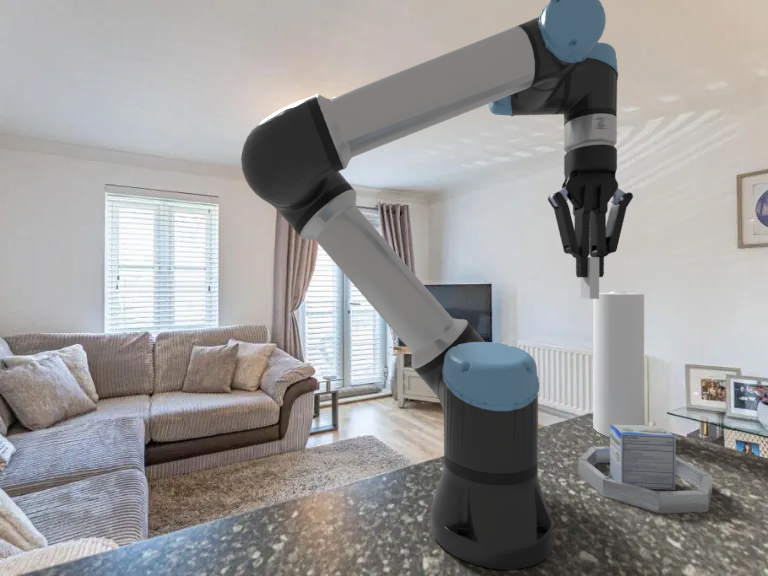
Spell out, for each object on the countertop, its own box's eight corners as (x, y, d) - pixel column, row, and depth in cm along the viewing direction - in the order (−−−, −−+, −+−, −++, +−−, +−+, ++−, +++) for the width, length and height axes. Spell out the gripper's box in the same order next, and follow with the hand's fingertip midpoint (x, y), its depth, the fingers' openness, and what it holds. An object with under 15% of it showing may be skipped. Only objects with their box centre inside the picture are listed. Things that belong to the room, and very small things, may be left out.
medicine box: (660, 478, 67) (661, 425, 67) (676, 491, 63) (676, 435, 63) (609, 475, 68) (609, 423, 68) (621, 488, 64) (621, 433, 64)
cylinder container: (604, 421, 95) (604, 290, 94) (650, 432, 88) (651, 291, 87) (585, 430, 89) (585, 291, 88) (633, 443, 82) (633, 292, 81)
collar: (623, 514, 57) (624, 496, 57) (563, 461, 74) (563, 447, 74) (742, 510, 58) (742, 492, 58) (655, 458, 75) (655, 445, 75)
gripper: (561, 141, 62) (561, 299, 62) (645, 142, 62) (645, 299, 63) (539, 156, 69) (539, 297, 69) (615, 157, 70) (615, 297, 70)
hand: (589, 298), depth 66 cm, fingers closed
